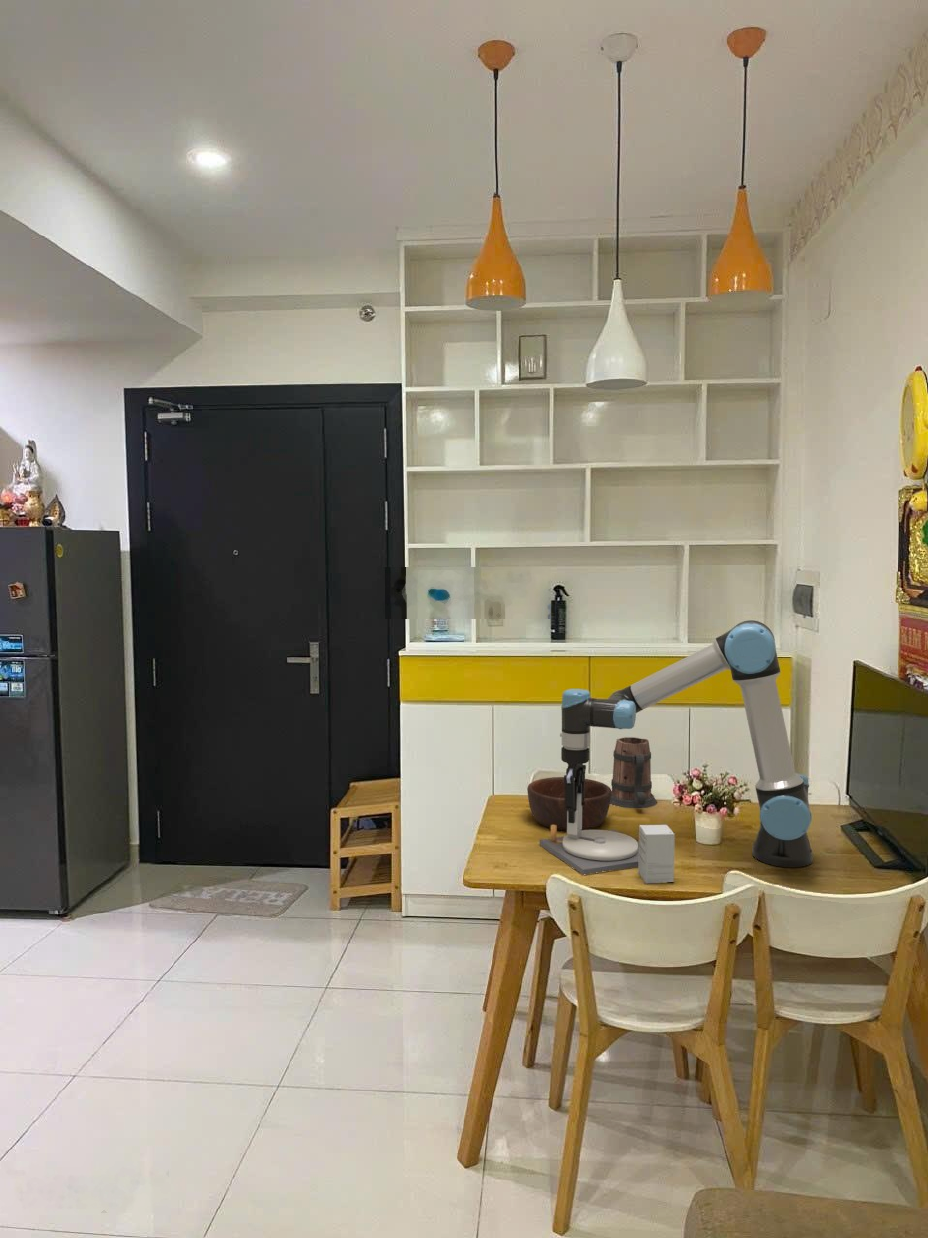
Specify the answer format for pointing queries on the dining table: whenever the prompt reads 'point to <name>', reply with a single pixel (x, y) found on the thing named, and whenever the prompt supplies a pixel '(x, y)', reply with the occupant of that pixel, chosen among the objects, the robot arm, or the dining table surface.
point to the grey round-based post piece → (599, 842)
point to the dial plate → (582, 864)
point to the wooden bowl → (551, 802)
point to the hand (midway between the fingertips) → (574, 831)
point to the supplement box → (656, 853)
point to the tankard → (632, 774)
